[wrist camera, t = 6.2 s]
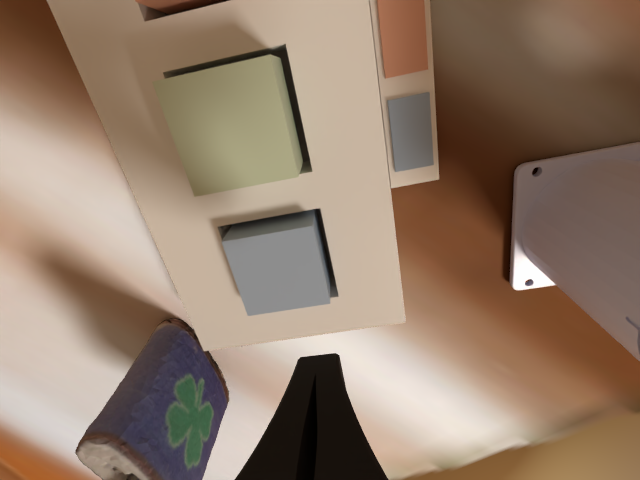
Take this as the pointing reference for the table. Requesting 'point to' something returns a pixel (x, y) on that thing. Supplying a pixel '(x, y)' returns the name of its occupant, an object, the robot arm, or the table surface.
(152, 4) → the terracotta key
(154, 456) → the flask
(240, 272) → the slate key
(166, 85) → the sage key
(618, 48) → the table surface
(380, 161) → the keypad base
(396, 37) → the tile
